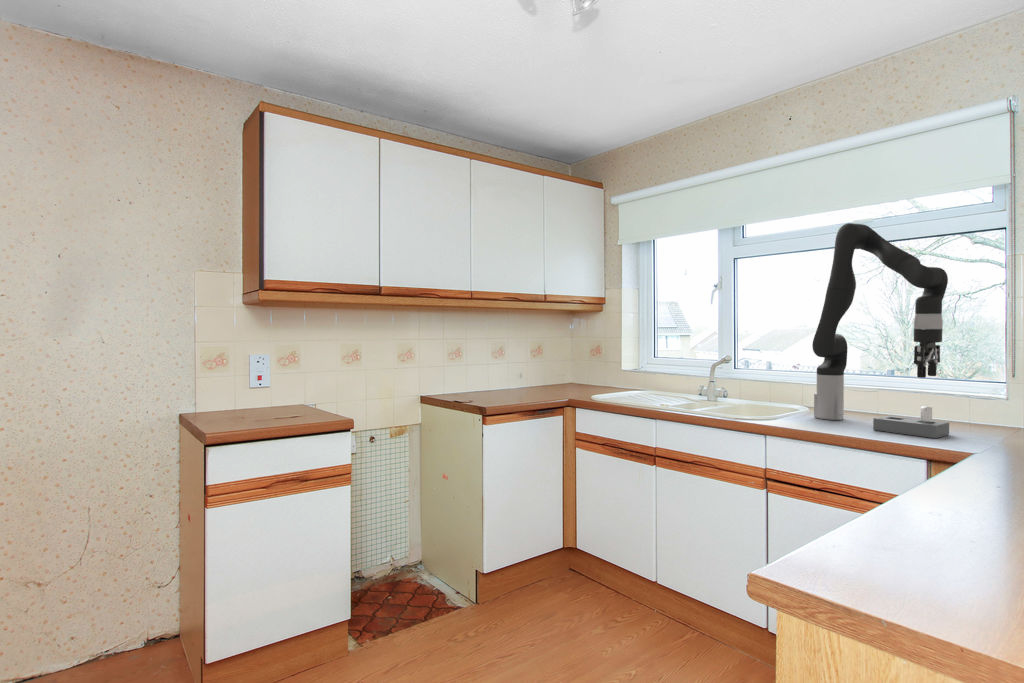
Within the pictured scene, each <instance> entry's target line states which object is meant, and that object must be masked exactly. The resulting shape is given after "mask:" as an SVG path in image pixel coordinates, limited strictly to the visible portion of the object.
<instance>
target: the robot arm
mask: <svg viewBox="0 0 1024 683" xmlns="http://www.w3.org/2000/svg"><path fill="white" fill-rule="evenodd" d="M835 236H836V237H835V240H834V241H835V242H834V248H833V249H834V251H833V260H832V265H831V270H830V275H829V281H828V283H827V284H828V285H827V288H826V292H825V297H824V303H823V306H822V311H821V315H820V319H819V322H818V326H817V328H816V330H815V333H814V336H813V340H812V344H811V345H812V351H813V353H814V355H815V356H816V357H819V358H823V362H822V364H820V365H818V366H817V367H816V392H815V393H814V394H813V417H814V418H817V419H821V420H831V421H840V420H841V421H842V420H844V414H845V413H844V405H845V404H844V400H845V399H844V398H845V396H844V394H845V380H844V379H845V378H844V377H845V371H846V367H847V364H848V363H847V362H848V343H847V340H846V337H844V335H842V334H839V333H837V330H838V326H839V323H840V321H841V320H842V319H843V317H844V316H845V314H846V313H847V312H848V311H849V309H850V307H851V305H852V304H853V301H854V298H855V293H856V288H857V282H856V281H857V280H856V276H855V273H854V269H853V268H854V267H853V257H854V253H855V250H863V251H865V252H868V253H870V254H873V255H874V256H875V257H877V259H878V260H879V261H880V262H881V263H882V264H883V265H884V266H885V267H887V268H888V269H890V270H892V271H893V272H895V273H897V274H899V275H900V276H902V277H903V278H904V280H906V281H907V282H908V283H909V284H911V285H912V286H915V287H916V288H918V289H923V292H922V295H921V296H918V297H917V298H916V299H915V303H914V304H915V305H914V306H915V307H914V308H915V310H914V312H915V313H914V318H913V319H914V320H913V342H914V343H919V345H915V346H914V351H913V354H914V355H913V357H914V358H913V364H914V365H915V366H917V368H916V369H917V370H916V377H917V378H921V379H924V378H926V377H927V376H928V377H936V376H937V366H938V364H939V363H940V362H941V345H940V344H936V343H942V342H943V327H944V326H943V325H944V322H943V300H944V296H945V294H946V291H947V287H948V283H949V278H948V274H947V272H946V271H945V269H943V267H937V266H936V267H934V266H925V265H924V264H921V260H920V259H919V258H917V256H914V255H912V254H911V253H909V252H907V251H906V250H904V249H902V248H900V247H898V246H896V245H895V244H892V243H891V242H889V241H888V240H886V239H885V238H884V237H882V236H881V235H880V234H879V233H877V232H876V231H875V230H874V229H873V228H871V227H870V226H869V225H867V224H863V223H854V222H852V223H850V222H848V223H844V224H842V226H840V227H839V228H838V231H837V233H836V235H835Z"/></svg>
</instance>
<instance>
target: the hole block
mask: <svg viewBox="0 0 1024 683" xmlns="http://www.w3.org/2000/svg"><path fill="white" fill-rule="evenodd" d="M872 420H873V422H872V423H873V425H872V426H873V430H874V431H879V432H886V433H894V434H902V435H909V436H917V437H924V438H930V439H937V438H938V439H939V438H942V437H945V436H948V435H950V422H949V421H943V420H942V421H939V420H934V419H932V424H929V423H921V418H915V417H907V416H906V417H904V416H897V415H888V414H887V415H883V416H877V417H874V418H873V419H872Z"/></svg>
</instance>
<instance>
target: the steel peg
mask: <svg viewBox="0 0 1024 683" xmlns="http://www.w3.org/2000/svg"><path fill="white" fill-rule="evenodd" d="M920 419H921V423H929V424H932V420H933V407H931V406H920Z"/></svg>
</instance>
